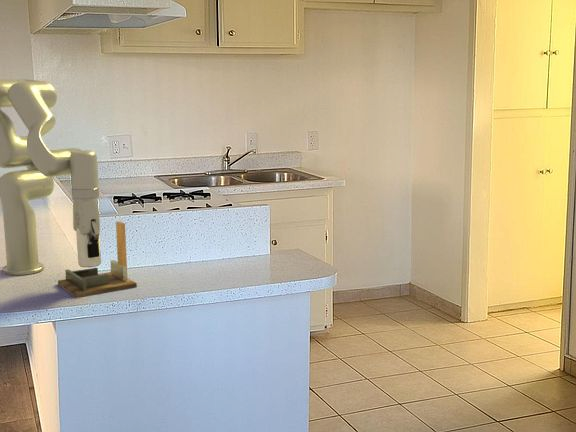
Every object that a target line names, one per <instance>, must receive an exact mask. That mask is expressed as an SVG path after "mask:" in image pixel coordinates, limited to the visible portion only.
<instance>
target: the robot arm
mask: <svg viewBox="0 0 576 432" xmlns="http://www.w3.org/2000/svg"><path fill="white" fill-rule="evenodd" d="M57 94H58V93H57V92H56V89H55V87H54V86H53V85H52V84H51V83H50V82H49V81H46V80H38V79H37V80H35V79H27V78H25V79H24V78H13V79H12V78H4V79H3V78H0V169H15V168H22V167H25V168H26V169H21V170H15V171H9V172H6V173H4V174H2V175H1V176H0V205H1V209H2V219H3V220H2V221H3V229H4V230H3V231H4V232H3V233H4V244H5V247H4V248H5V257H6V258H5V259H6V260H5V261H6V265H5V266H3V267H2V268H1V272H2V273H3V274H4V275H9V276H25V275H33V274H37V273H39V272H42V271H44V269H45V265H44V264H43V263H42V262H39V251H38V235H37V233H38V232H37V221H36V220H37V219H36V213H35V210H34V209H33V208H32V206H31V205H30V203H29V201H31V200H38V199H43V198H44V199H45V198H47V197H49V196H51V195H52V194H53V192H54V188H55V181H54V177H60V176H68V175H70V183H71V184H70V185H71V197H72V198H71V199H72V201H73V203H72V204H73V205H72V221H73V222H72V227H73V230H74V231H75V232H76V230H77V228H78V229H79V230H80V233H81V234H82V235H86V234H87V239H88V243H89V244H87V249H88V257H89V258H93V257H99V235H100V234H101V233H100V232H101V221H100V220H101V219H100V209H99V203H98V200H99V199H100V191H99V190H100V187H99V186H100V185H99V171H98V157H97V155H98V154H97V153H96V152H95V151H93V150H87V149H86V150H82V149H80V148H75V147H72V148H59V149H51V150H50V149H48V148H47V146H46V145H45V143H44V142H43V139H42V137H43V136H45V135H46V134H48V133H49V132H50V131H51V130H52V129H53V128H54V127H55V124H56V117H55V115H54V114H53V113H52V111H51V110H50V109H51V108H54V106H55V105H56V103H57V100H58V96H57ZM10 107H11V108H13V109H14V111H15V112H16V114H17V115H18V116H19V118H20V119H21V121H22V123H23V124H24V126H25V127H26V129H27V130H28V134H27V135H21V136H20V135H18V133H17V131H16V129H15V124H14V122H13V120H12V119H11V118H10V116H9V115H8V114H7V113H6V112H5V111H3V110H2V108H10ZM89 231H93V233H89ZM91 235H93V236H92V237H91V238H90V236H91Z"/></svg>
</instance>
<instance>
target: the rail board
mask: <svg viewBox="0 0 576 432" xmlns="http://www.w3.org/2000/svg"><path fill="white" fill-rule="evenodd" d="M103 274H108V276H109V285H103V286H97V287H91V288H87V291H84V292H83V291H82V290H80V289H79V288H77V287H76V286H75V285H73V284H72V283H70V282H69V281H67V280H66V278H64V279H59V280H57V285H58V286H60V287H61V288H62V289H64V290H66V291H67V292H68V293H70V294H71V295H72V296H74V297H76V298H81V297H86V296H87V297H88V296H92V295H98V294H104V293H109V292H117V291H123V290H127V289H132V288H137V287H138V285H137V282H135V281H134V280H132V279H130V278H128V277H127V281H123V280H121V279H119V278H117V277H116V276H114V275H112V274H111V271H110V272H103V273H98V275H103Z"/></svg>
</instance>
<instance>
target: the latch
mask: <svg viewBox="0 0 576 432" xmlns="http://www.w3.org/2000/svg"><path fill="white" fill-rule="evenodd" d="M115 228H116V231H115V232H116V233H115V234H116V250H117V253H116V254H117V255H116V256H117V260H115V259H113V260H110V272H111V274H112V275H114V276H116V277H117V278H119V279H121V280H123V281H127V278H128V263H127V262H128V261H127V260H128V258H127V241H126V223H124V222H122V221H120V220H119V221H116V222H115Z"/></svg>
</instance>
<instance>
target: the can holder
mask: <svg viewBox="0 0 576 432" xmlns="http://www.w3.org/2000/svg"><path fill="white" fill-rule="evenodd" d="M98 269H99V268H98V267H89V268H86V269H79V270H71V269H65V270H64V271H65V272H64V273H65V274H64V275H65V279H66V280H67V281H69V282H70V283H72V284H73V285H75V286H76V287H77V288H79V289H80V290H82V291H83V292H84V291H87V288H91V287H97V286H103V285H109V276H108V274H103V275H98V274H99V270H98Z"/></svg>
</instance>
